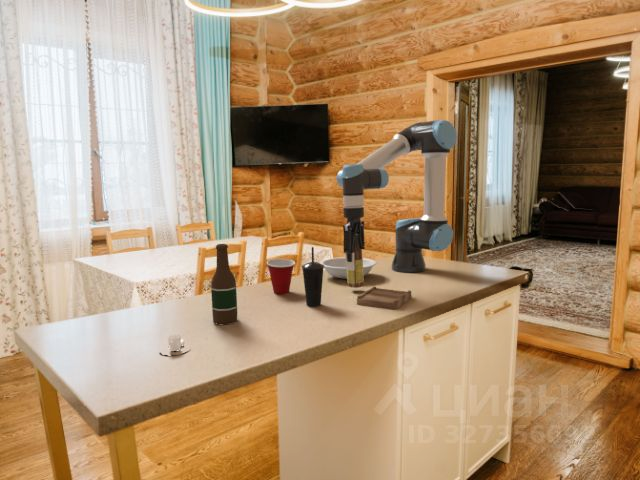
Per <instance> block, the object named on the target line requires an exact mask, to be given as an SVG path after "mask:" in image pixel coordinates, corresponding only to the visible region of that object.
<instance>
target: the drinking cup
mask: <svg viewBox="0 0 640 480" xmlns="http://www.w3.org/2000/svg"><path fill="white" fill-rule="evenodd" d="M314 251H315V250H314V246H311V261H310V262H306V263H305V264H302V265H301V269H302V274H303V284H304V295H305V301H306V304H305V305H306V306H307V307H309V308H314V307H315V308H317V307H320V306H321V303H322V292H323V290H322V289H323V279H324V278H323V277H324V269H325V268H324V265H323V264H320V262H316V261H315V256H314V255H315V252H314Z"/></svg>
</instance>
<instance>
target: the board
mask: <svg viewBox="0 0 640 480" xmlns="http://www.w3.org/2000/svg"><path fill="white" fill-rule="evenodd" d="M411 298H412V290H407V291H404V290H397V289H388V288H378V287H377V286H373V287H371V288H369V289H368V290H366V291H365V292H363V293H361V294H359V295H357V298H356V305H360V306H361V305H362V306H368V307H375V308H382V309H390V310H397V309H399V308H400V307H401V306H402V305H404V304H405V303H406V302H407V301H409V300H410V299H411Z"/></svg>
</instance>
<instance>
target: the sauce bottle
mask: <svg viewBox="0 0 640 480" xmlns="http://www.w3.org/2000/svg"><path fill="white" fill-rule="evenodd" d="M353 253H354V263H355V270H354V271H352V270H347V279H346V280H347V281H346V282H347V286H348V287H349V288H361V287H364V283H365V282H364V281H365V278H364V276H365V275H363V258H364V257H363V250H362V251H361V249H360V247H359V244H358V234H356V235H355V239H354V248H353ZM345 257H346V267H347V253H345Z"/></svg>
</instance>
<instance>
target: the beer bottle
mask: <svg viewBox="0 0 640 480" xmlns="http://www.w3.org/2000/svg"><path fill="white" fill-rule="evenodd" d="M228 248H229V246H228V244H226V243H218V244H216V245H215V250H216V266H215V267H216V269H215V270H216V271H215V272H214V274H213V276H212V278H211V281H210V283H211V285H210V289H211V291H210V293H211V308H212V309H211V310H212V323H213V324H216V323H217V325H219V324H227V325H231V324H230V323H232V324H235V323H237V321H238V298H237V297H238V296H237V295H238V294H237V293H238V292H237V282H236V281H237V279H236V277H235V275H234V273H233V272H232V271H231V267H230V263H229V255H228ZM234 322H235V323H234Z"/></svg>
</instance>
